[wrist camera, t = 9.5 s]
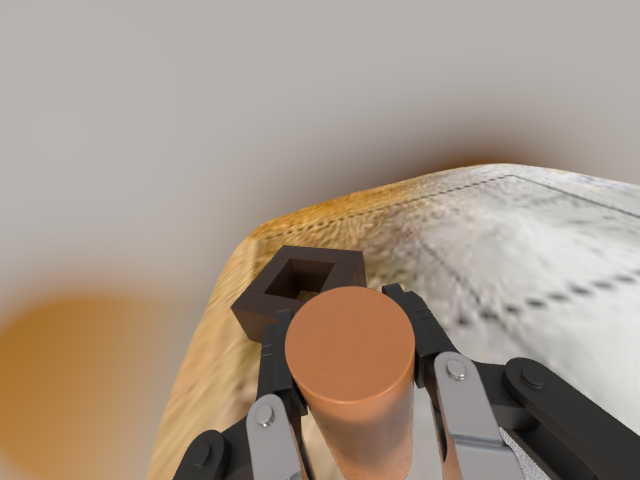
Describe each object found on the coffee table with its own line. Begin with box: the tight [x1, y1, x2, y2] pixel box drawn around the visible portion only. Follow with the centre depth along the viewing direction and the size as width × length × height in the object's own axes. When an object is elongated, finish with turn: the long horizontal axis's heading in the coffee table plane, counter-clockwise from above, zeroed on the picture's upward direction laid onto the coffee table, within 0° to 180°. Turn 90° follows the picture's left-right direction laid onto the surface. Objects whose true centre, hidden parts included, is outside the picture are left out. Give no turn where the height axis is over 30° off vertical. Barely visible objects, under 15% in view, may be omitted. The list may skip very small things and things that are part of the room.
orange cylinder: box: [285, 286, 415, 480], centre depth 11 cm, size 4×4×10 cm
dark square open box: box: [230, 245, 367, 343], centre depth 25 cm, size 10×10×5 cm
